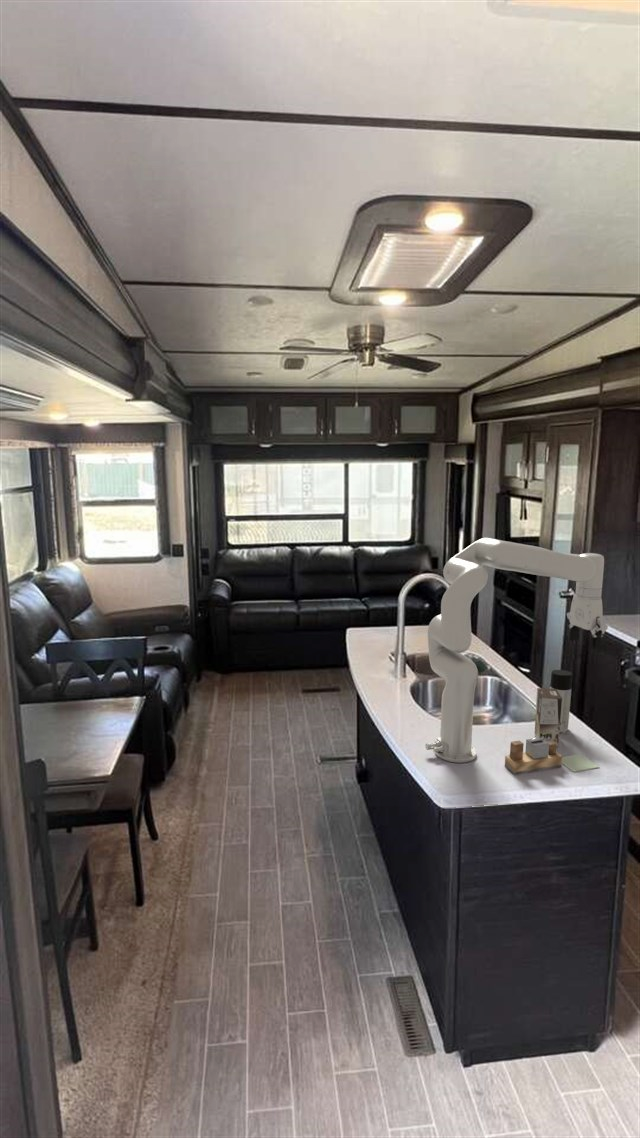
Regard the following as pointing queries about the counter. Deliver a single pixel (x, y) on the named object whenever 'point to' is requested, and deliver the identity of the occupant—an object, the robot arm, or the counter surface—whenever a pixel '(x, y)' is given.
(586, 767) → the felt pad
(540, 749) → the lever cap
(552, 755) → the wooden peg block
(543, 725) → the coffee box
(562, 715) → the spray can
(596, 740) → the counter surface
